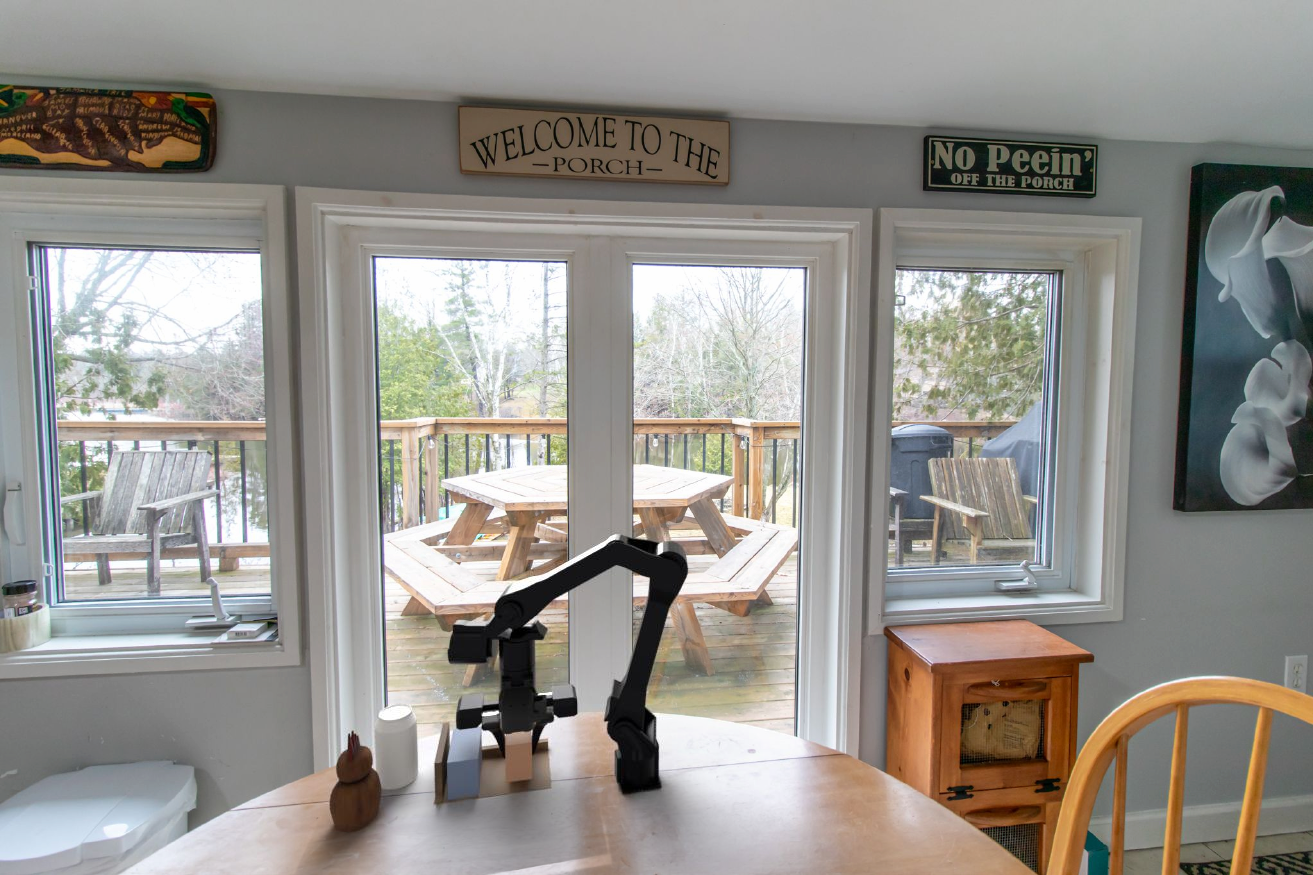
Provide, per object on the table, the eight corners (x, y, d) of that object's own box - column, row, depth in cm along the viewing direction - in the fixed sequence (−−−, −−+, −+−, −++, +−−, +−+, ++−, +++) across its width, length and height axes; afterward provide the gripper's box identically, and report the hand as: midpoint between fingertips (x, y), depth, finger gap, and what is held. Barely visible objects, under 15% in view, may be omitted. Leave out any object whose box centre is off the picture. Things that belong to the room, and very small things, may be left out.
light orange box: (531, 744, 103) (530, 711, 102) (532, 778, 94) (531, 742, 94) (507, 747, 102) (506, 714, 101) (505, 782, 93) (505, 745, 93)
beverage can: (422, 768, 100) (420, 700, 99) (412, 793, 94) (410, 720, 93) (383, 771, 100) (381, 702, 98) (371, 797, 93) (368, 723, 92)
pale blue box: (482, 759, 101) (481, 725, 101) (478, 795, 92) (477, 758, 92) (454, 763, 100) (453, 729, 100) (448, 800, 91) (447, 762, 91)
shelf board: (548, 751, 105) (547, 710, 105) (551, 793, 95) (551, 748, 94) (442, 765, 101) (441, 722, 101) (433, 810, 91) (432, 763, 90)
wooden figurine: (358, 844, 84) (354, 742, 83) (323, 837, 85) (318, 737, 84) (389, 810, 91) (386, 715, 89) (355, 805, 92) (351, 711, 90)
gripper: (450, 695, 87) (453, 797, 88) (580, 681, 91) (581, 779, 92) (458, 660, 97) (460, 751, 99) (574, 649, 102) (574, 737, 103)
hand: (519, 755), depth 98 cm, fingers closed on light orange box, 4 cm apart
